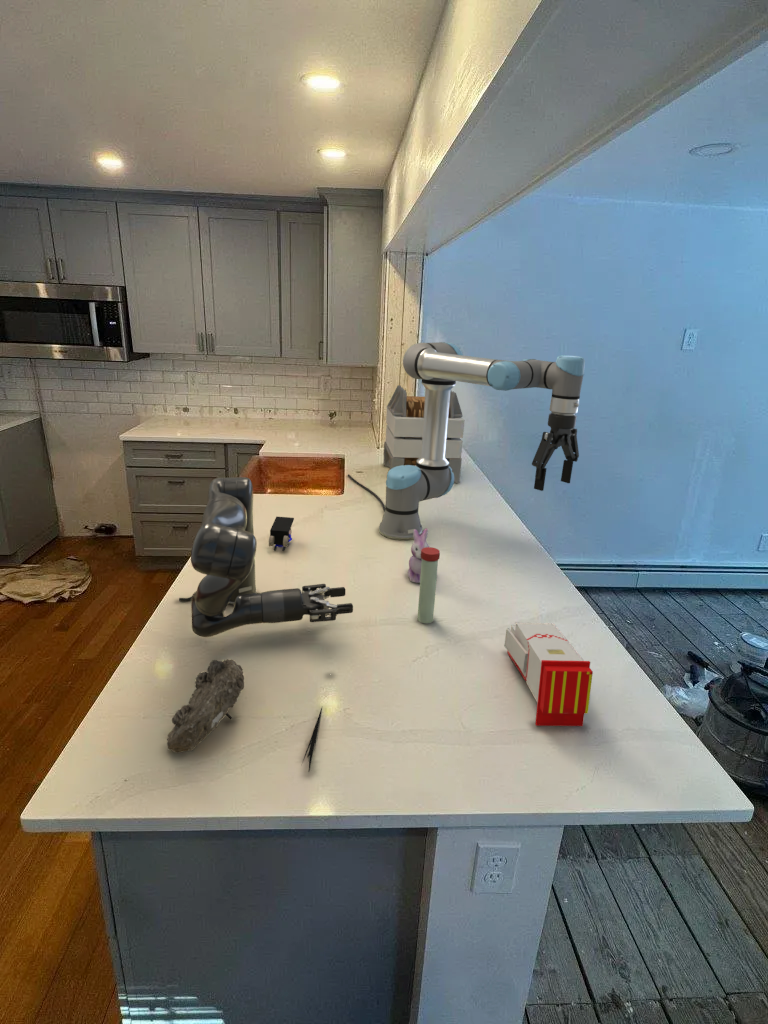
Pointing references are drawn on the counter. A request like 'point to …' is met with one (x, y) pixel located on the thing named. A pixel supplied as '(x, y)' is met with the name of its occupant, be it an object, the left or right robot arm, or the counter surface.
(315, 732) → the feather
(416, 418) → the grey slatted crate
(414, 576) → the figurine
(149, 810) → the counter surface
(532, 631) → the toy
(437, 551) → the lid
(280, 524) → the figurine character
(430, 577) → the bottle
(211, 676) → the fossil
